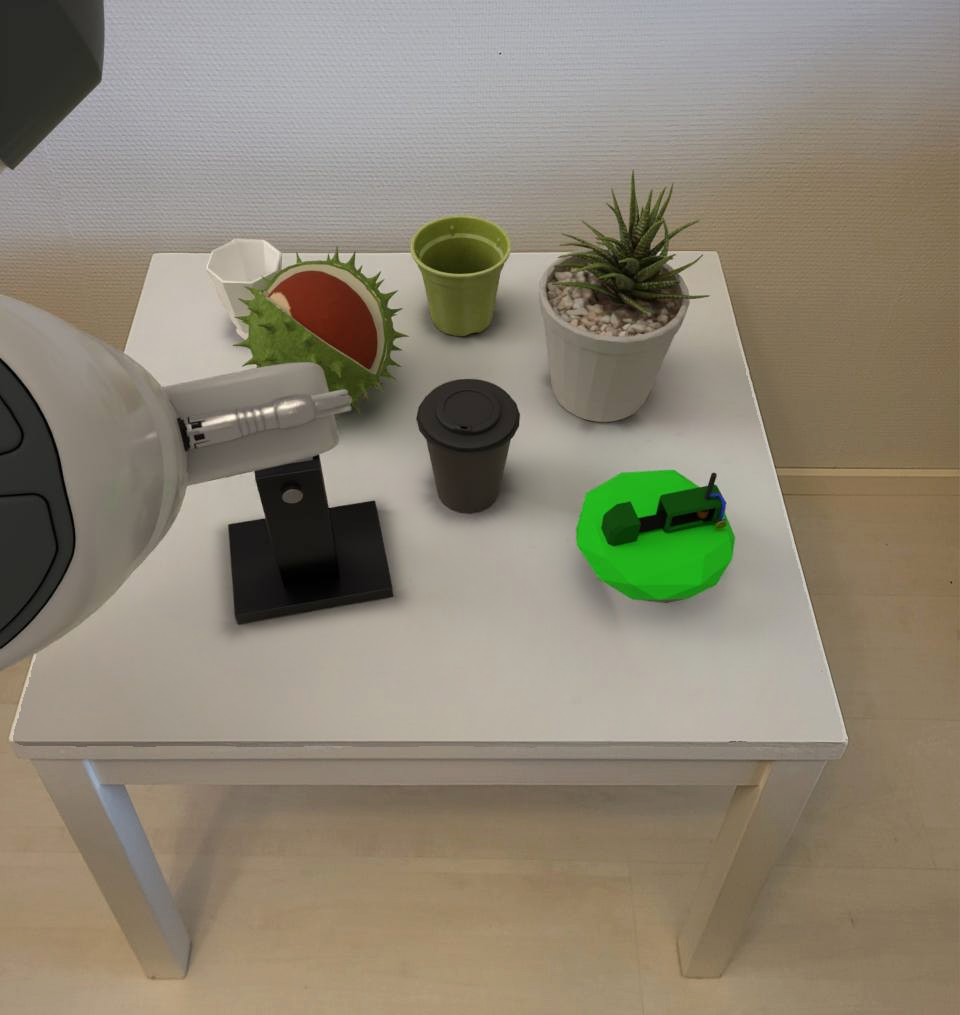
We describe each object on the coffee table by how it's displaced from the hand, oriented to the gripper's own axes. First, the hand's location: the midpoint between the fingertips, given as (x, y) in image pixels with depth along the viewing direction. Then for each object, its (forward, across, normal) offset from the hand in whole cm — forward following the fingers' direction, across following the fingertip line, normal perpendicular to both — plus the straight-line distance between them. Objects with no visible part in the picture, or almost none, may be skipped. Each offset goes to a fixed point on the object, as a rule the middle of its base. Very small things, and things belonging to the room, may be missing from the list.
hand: (109, 452), depth 45 cm
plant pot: (+48, -28, -6) cm, 56 cm away
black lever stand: (+30, -8, +12) cm, 33 cm away
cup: (+52, -9, -10) cm, 54 cm away
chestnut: (+43, -14, -1) cm, 45 cm away
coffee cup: (+32, -23, +9) cm, 41 cm away
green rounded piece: (+24, -34, +18) cm, 45 cm away
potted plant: (+38, -38, +4) cm, 54 cm away
